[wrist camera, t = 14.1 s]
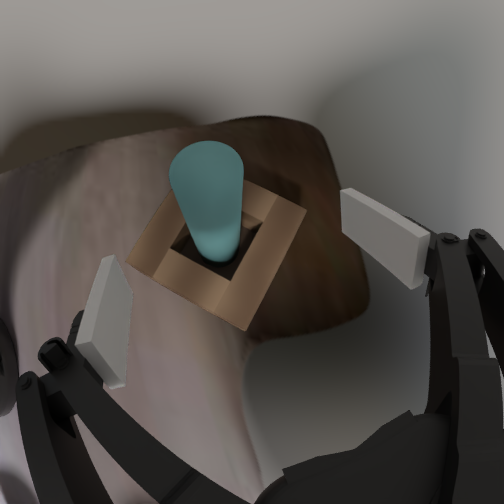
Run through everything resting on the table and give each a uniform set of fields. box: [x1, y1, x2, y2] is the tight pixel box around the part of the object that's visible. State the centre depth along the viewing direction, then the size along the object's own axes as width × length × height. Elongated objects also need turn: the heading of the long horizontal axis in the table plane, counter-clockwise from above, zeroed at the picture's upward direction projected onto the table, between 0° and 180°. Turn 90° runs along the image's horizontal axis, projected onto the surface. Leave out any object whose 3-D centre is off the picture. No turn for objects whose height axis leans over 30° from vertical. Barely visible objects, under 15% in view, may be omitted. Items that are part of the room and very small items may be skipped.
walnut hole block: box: [125, 179, 307, 331], centre depth 27 cm, size 12×12×4 cm
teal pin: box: [169, 141, 244, 267], centre depth 21 cm, size 4×4×14 cm
